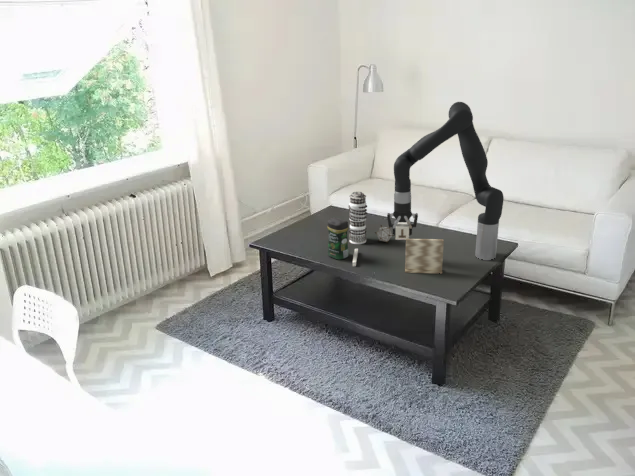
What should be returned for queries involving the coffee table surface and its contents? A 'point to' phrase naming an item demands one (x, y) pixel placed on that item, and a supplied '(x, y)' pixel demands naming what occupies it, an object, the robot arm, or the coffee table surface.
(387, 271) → the coffee table surface
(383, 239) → the game die
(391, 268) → the coffee table surface
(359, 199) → the decorative candle
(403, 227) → the letter cube
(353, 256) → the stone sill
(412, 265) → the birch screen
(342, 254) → the coffee jar
